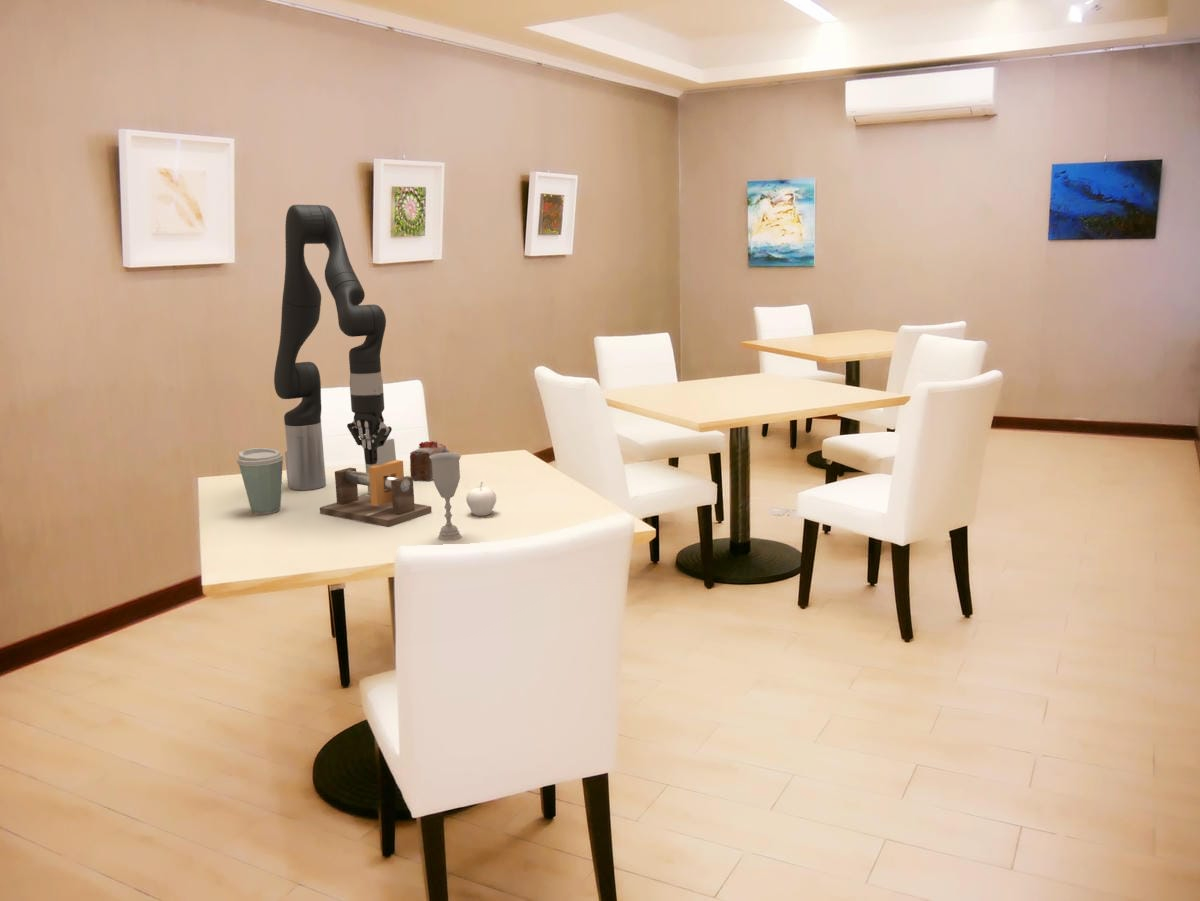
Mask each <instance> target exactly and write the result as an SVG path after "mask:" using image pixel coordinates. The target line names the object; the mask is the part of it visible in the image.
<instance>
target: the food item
mask: <svg viewBox="0 0 1200 901" xmlns="http://www.w3.org/2000/svg"><path fill="white" fill-rule="evenodd" d="M437 453H450V450H449V449H447V446H446V445H444V444H443V443H439V442H438V441H432V440H431V441H421V442H420V443H419V444H418V449H417V448H416V449H415V450H412V451H411V452H410V453H409V454H410V455H409V460H410V461H409V462H410V463H409V464H410V465H409V466H410V470H409V471H410V477H413V481H416V482H417V481H419V482H421V481H422V482H430V481H431V480H433V474H432V461H431V460H430V458H429V456H430V455H433V454H437Z"/></svg>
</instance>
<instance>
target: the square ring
mask: <svg viewBox="0 0 1200 901" xmlns="http://www.w3.org/2000/svg"><path fill="white" fill-rule="evenodd" d="M387 475H390V477H396V478H402V477H405V473H404V460H400V459H396V460H394V461H390V462H387V463H383V464H379V465H375V466H371V467H369V480H370V493H369V494H370V496H371V505H374V506H379V505H382V504H386V503H389V502H392V490H390V489H388V490H384V477H383V476H387Z"/></svg>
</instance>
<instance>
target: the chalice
mask: <svg viewBox="0 0 1200 901" xmlns="http://www.w3.org/2000/svg"><path fill="white" fill-rule="evenodd" d="M461 457H462V454H460V453H458V452H449V453H437V454H433V455H430V456H429V458H430V460H431V461H432V474H433V479H432V480H433V483H434V486H435V488H436V490H437V492H438V494H439V495H440V496H439V497H441V498H442V499H444V501H445V505H444V509H445V511H446V512H445V514H444V517H445V519H446V523H445V524H444V525H443V526H442V527H441V528H440V531H439V534H438V536H437V539H439V540H440V539H441V541H453V540H455V541H456V540H458V539H460V538H462V535H461V533H460V531H459V528H458V527H457V526H456V525H454V524H453V523H452V520H451V519H452V516H453V514H452V513H451V508H453V507H452V505H451V502H450V501H451V498H454V497H455V494H456V491H457V488H458V487H459V486H458V485H459V483H460V479H461V470H460V459H461ZM457 538H458V539H457Z"/></svg>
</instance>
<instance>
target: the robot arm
mask: <svg viewBox="0 0 1200 901" xmlns="http://www.w3.org/2000/svg"><path fill="white" fill-rule="evenodd" d="M341 232H342V231H341V229H340V226H339V223H338V220H337V217H336V216H335V214H334V211H333V210H332V209H331V208H330V207H329V206H326V205H321V204H291V206H289V207H288V210H287V213H286V215H285V236H284V237H285V266H284V267H285V270H284V272H285V273H284V281H283V282H284V283H283V290H282V291H283V292H282V302H281V317H280V318H281V319H280V320H281V321H280V322H281V323H280V333H279V334H280V337H279V343H278V350H277V355H276V360H275V366H274V372H273V373H274V375H273V377H274V378H273V383H274V386H273V387H274V390H275V393H276V395H277V396H278V397H279V398H280V399H282V400H292V399H293V400H294V399H301V402H299V403H298V405H297V406H295V407H294V408H292V409H290V410H289V411H287V412H286V413H284V416H283V418H284V419H283V420H284V431H285V441H286V450H285V453H284V456H285V467H286V468H285V469H286V478H287V480H286V482H287V487H289V488H290V489H292V490H294V491H310V490H318V489H321V488H324V487H325V486H326V485H327V482H326V481H327V480H326V468H325V466H326V464H325V456H324V445H323V444H324V442H323V440H324V439H323V431H322V430H323V429H322V418H321V417H322V386H321V385H322V382H321V374H320V371H319V368H318V366H317V365H316V364H315V363H314V362H311V361H301V362H297V359H298V358H297V357H298V355H299V352H300V350H301V349H302V347H303V344H305V343H306V341H307V339H308V338H309V337H310V336H311V335H312V333H313V331H314V330H315V329H316V327H317V325H318V323H319V321H320V316H321V306H322V293H321V291H320V288H319V286H318V283H317V282H316V280H315V279H314V277H313V275H312V274H311V272H310V270H309V267H308V265H307V264H306V261H305V260H306V258H305V245H311V244H315V245H321V244H324V245H325V247H326V248H327V250H328V258H327V262H326V263H325V264H326V265H325V268H324V279H325V283H326V286H327V288H328V290H329V292H330V294H331V295H332V298H333V300H334V302H335V308H336V313H337V320H338V321H337V322H338V327H339V329H340V331H341V332H342V333H343V334H344V335H345V336H348V337H350V338H351V337H352V338H353V337H355V338H357V337H365V339H364V342H363V343H362V344H360V345H357V346H354V347H351V349H350V350H349V352H348V361H349V393H350V407H351V408H350V409H351V412H352V413H354V415H353V421H352V422H350V423H347V426H346V427H347V429H348V431H349V432H350V435H351V436H352V437H353V439H354V441H355V442H356V445H357V446H361V447H362V449H363V453H364V454H363V455H365V456H364V462H365V461H366V464H369V465H373V464H376V463H377V460H378V458H377V448H378V447H380V446H383V445H384V443H385V441H386V440H387V438H388V437H389V436H390V434H391V433H392V430H393V429H392V427H391V426H390V425H389V426H387V424H386V423H384V422H385V419H384V417H383V411H385V397H384V396H385V395H384V382H383V381H384V380H383V376H382V366H381V350H382V345H383V339H384V336H385V331H386V326H387V325H386V324H387V317H386V314H385V312H384V310H383V308H382V307H380V305H377V304H362V303H363V302H364V300H365V296H366V295H365V294H366V293H365V290H364V288H363V285H362V284H361V282H360V280H359V279H358V276H357V275H356V273H355V271H354V268H353V266H352V264H351V262H350V259H349V255H348V252H347V249H346V245H345V242H344V238H343V235H342V233H341Z"/></svg>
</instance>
